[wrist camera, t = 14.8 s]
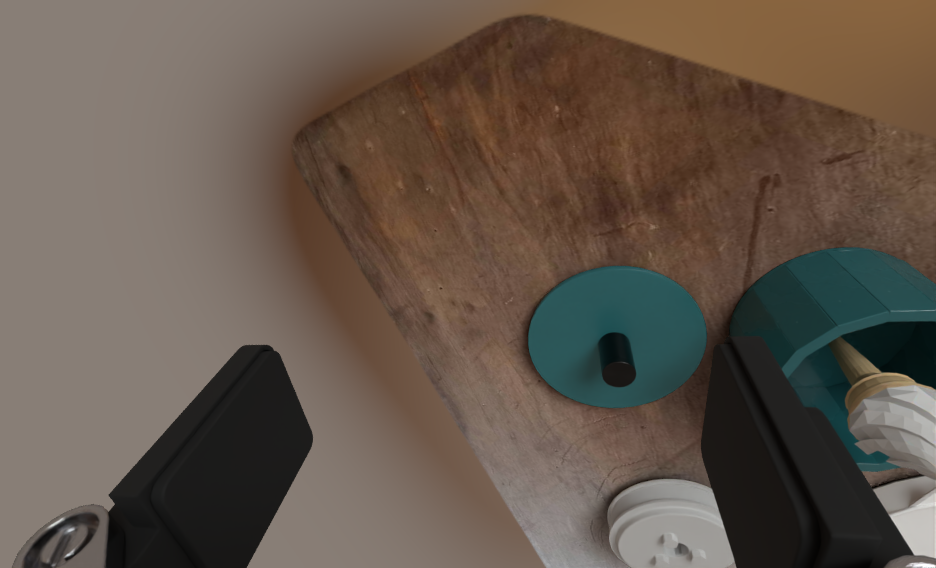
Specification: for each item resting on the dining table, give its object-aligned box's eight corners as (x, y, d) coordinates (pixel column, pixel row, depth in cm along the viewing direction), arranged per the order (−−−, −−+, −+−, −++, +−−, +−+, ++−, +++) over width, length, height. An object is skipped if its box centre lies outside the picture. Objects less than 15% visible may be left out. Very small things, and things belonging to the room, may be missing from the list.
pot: (702, 252, 37) (737, 313, 30) (1000, 240, 33) (1122, 307, 26) (686, 388, 44) (712, 465, 37) (934, 391, 40) (1017, 477, 33)
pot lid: (522, 265, 40) (518, 297, 36) (713, 258, 37) (733, 292, 33) (533, 398, 47) (531, 438, 43) (694, 401, 44) (709, 444, 40)
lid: (745, 538, 52) (762, 585, 48) (629, 554, 57) (634, 599, 53) (713, 460, 48) (728, 505, 43) (589, 484, 52) (591, 527, 48)
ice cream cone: (783, 359, 40) (888, 527, 27) (785, 302, 38) (902, 458, 25) (862, 351, 39) (1012, 525, 26) (870, 292, 36) (1039, 451, 23)
